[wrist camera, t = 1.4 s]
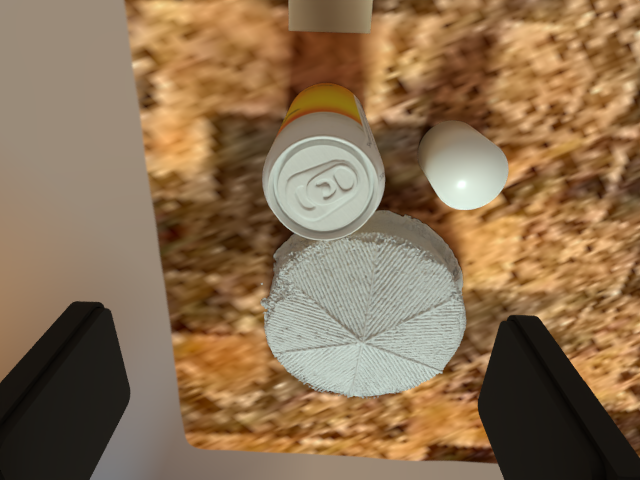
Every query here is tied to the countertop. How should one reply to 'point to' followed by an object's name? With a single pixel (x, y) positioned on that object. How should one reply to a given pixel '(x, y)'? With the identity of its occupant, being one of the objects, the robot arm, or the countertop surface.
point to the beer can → (324, 165)
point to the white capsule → (462, 165)
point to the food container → (366, 307)
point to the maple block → (330, 15)
